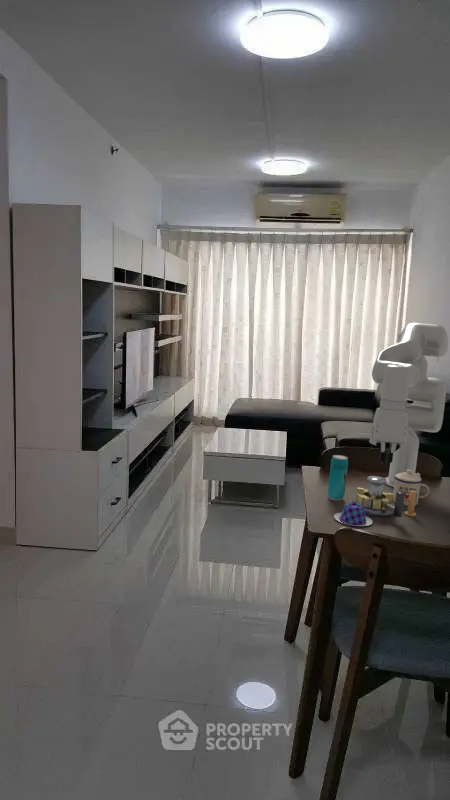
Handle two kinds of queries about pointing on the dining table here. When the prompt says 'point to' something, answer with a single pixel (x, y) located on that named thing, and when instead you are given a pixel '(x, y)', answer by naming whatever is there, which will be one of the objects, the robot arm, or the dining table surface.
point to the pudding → (353, 515)
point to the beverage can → (337, 477)
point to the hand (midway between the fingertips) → (385, 463)
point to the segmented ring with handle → (381, 501)
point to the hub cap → (376, 488)
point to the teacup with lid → (408, 486)
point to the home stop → (411, 504)
